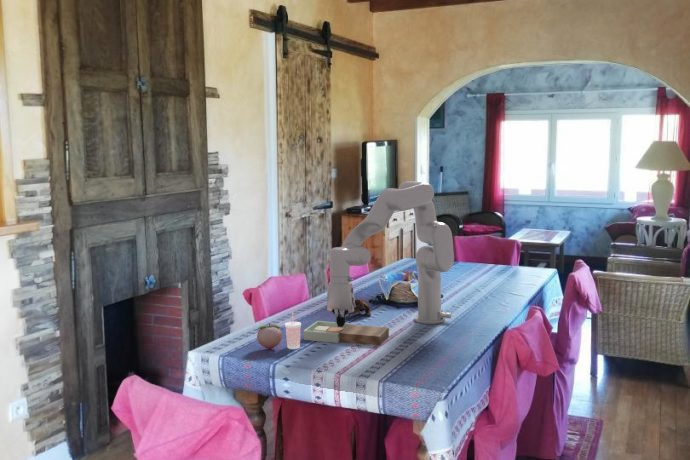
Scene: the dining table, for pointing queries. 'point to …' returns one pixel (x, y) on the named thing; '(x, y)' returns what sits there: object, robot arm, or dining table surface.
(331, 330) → the tile terracotta
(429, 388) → the dining table surface
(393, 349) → the dining table surface
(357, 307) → the dark brown domed piece
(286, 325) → the beverage cup
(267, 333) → the decorative fruit
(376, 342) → the walnut board
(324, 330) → the tile cream
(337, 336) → the tray
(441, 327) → the dining table surface
